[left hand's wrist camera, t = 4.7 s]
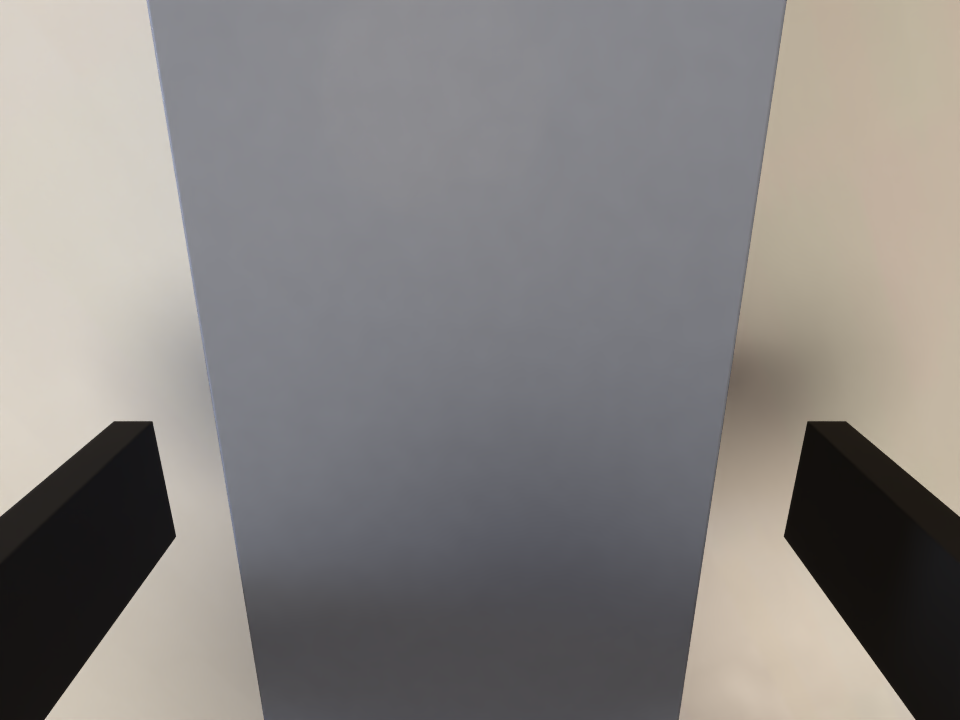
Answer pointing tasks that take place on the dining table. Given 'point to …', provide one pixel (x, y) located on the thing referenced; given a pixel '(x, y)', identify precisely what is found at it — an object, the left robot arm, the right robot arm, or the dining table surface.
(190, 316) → the dining table surface
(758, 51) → the cabinet
